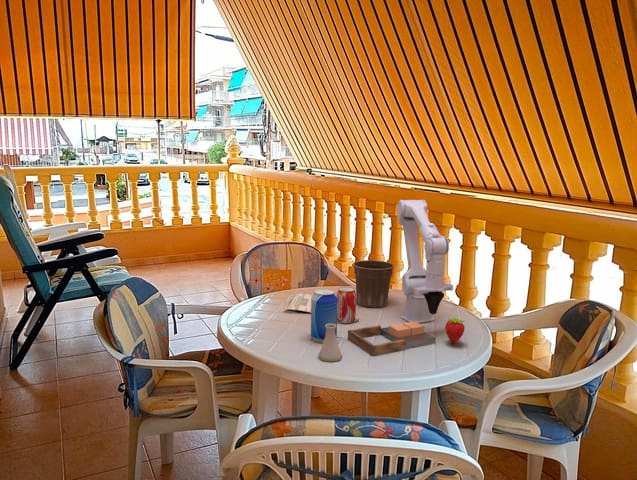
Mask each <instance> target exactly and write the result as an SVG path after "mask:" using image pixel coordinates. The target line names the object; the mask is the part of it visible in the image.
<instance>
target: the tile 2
mask: <svg viewBox="0 0 637 480" xmlns="http://www.w3.org/2000/svg"><path fill="white" fill-rule="evenodd" d="M402 324H404V325H405V326H407V327H409V328H411V335H416V334H422V333H424V331H425V328H426V327H425V325H424V324H421V323H418V322H416V321H414V322H408V321H407V322H403V323H402Z"/></svg>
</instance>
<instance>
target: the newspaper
mask: <svg viewBox="0 0 637 480" xmlns="http://www.w3.org/2000/svg"><path fill="white" fill-rule="evenodd" d="M312 296H313V294H308V293H300V292H299V293H294V294H293V295H288V299H287V301H286V304H285V307H284V313H291V314H297V311H302V312H306V313H310V314H311V298H312Z"/></svg>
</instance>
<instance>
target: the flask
mask: <svg viewBox="0 0 637 480" xmlns="http://www.w3.org/2000/svg"><path fill="white" fill-rule="evenodd" d="M325 327H326V336H325V339H324V342H323V343H322V345H321V348H320V351H319V353H318V355H317V358H318V359H319V360H321V362H322V361H323V362H331V363H332V362H338V361H341V359H342V358H343V354H342V352H341V349H340V346H339V343H338V339H337V336H336V334H335V328H336V325H335V324H326V325H325Z"/></svg>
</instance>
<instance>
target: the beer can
mask: <svg viewBox="0 0 637 480" xmlns="http://www.w3.org/2000/svg"><path fill="white" fill-rule="evenodd" d="M313 292H314V293H313V294H312V295H313V296H312V298H311V313H310V336H311V338H312V340H313V341H315V342H317V343H321V344H323V342H324V339H325V336H326V327H325V325H326V324H335V325H336V328H335V334H336V337H337V335H338V320H337V301H338V299H337V294H336V291H335V290H333V289H331V288H318V289H315V290H314V291H313Z"/></svg>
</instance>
